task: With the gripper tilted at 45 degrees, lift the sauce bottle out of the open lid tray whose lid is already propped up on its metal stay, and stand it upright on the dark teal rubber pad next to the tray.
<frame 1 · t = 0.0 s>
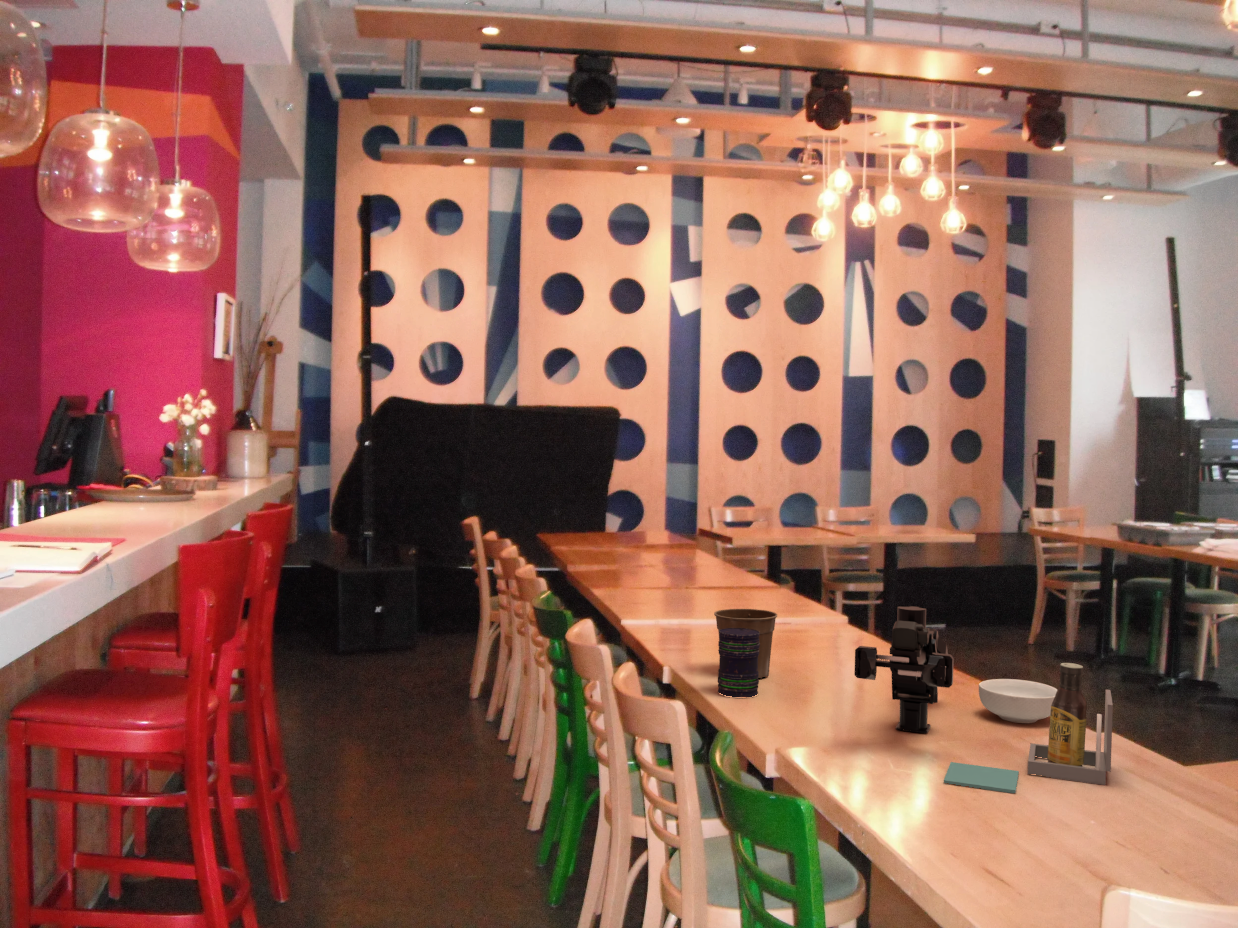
hand: (896, 674, 199), 17 cm above the table, tool horizontal, fingers open, 9 cm apart
rubber pad: (981, 778, 190), on the table
sauce bottle: (1066, 770, 196), resting in open lid tray
storage jar: (737, 694, 251), on the table
plant pot: (744, 675, 271), on the table
open lid tray: (1066, 769, 196), on the table
cereal bowl: (1017, 719, 233), on the table
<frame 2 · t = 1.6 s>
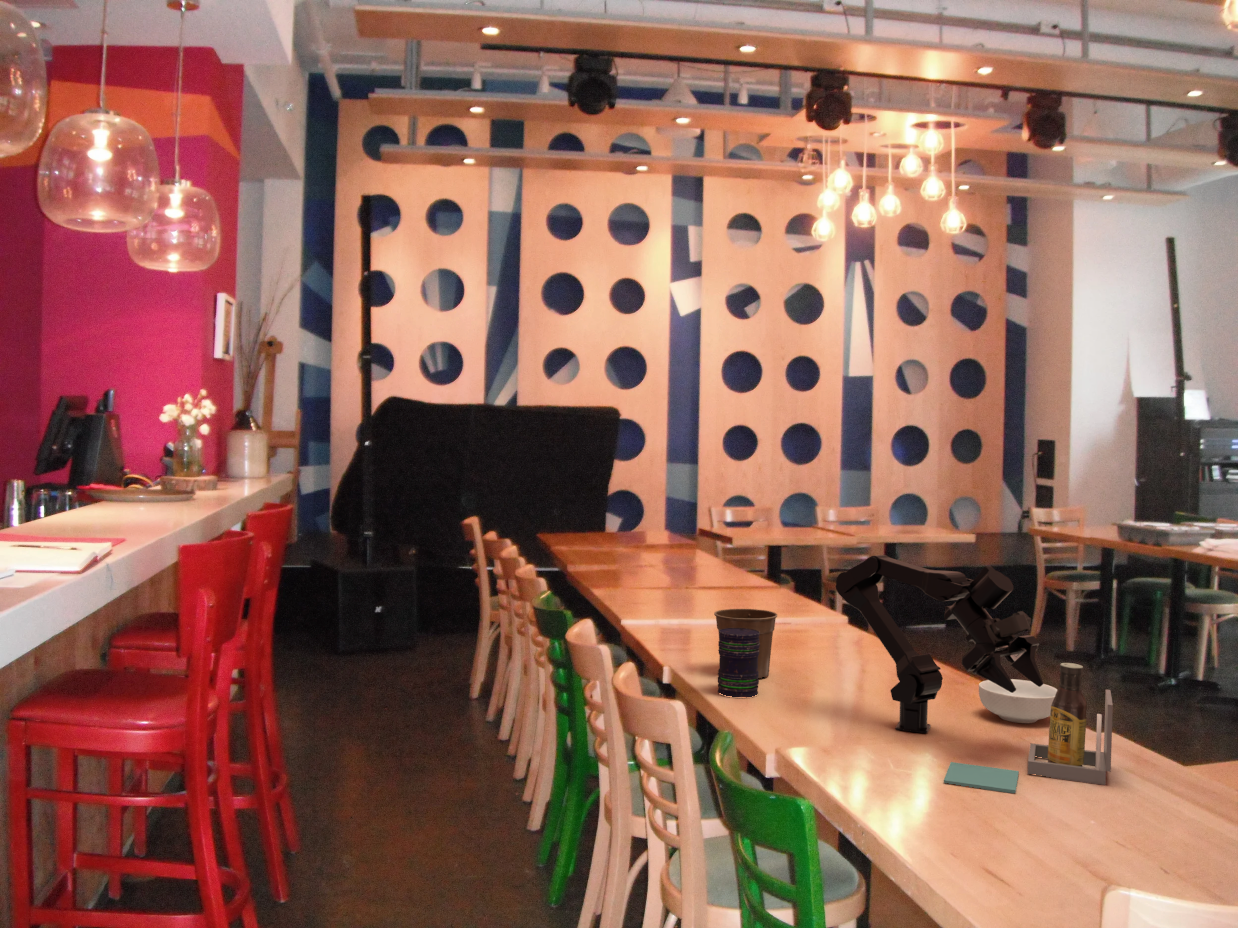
hand: (1028, 688, 201), 14 cm above the table, tool tilted 45°, fingers open, 9 cm apart
nothing on the table moved.
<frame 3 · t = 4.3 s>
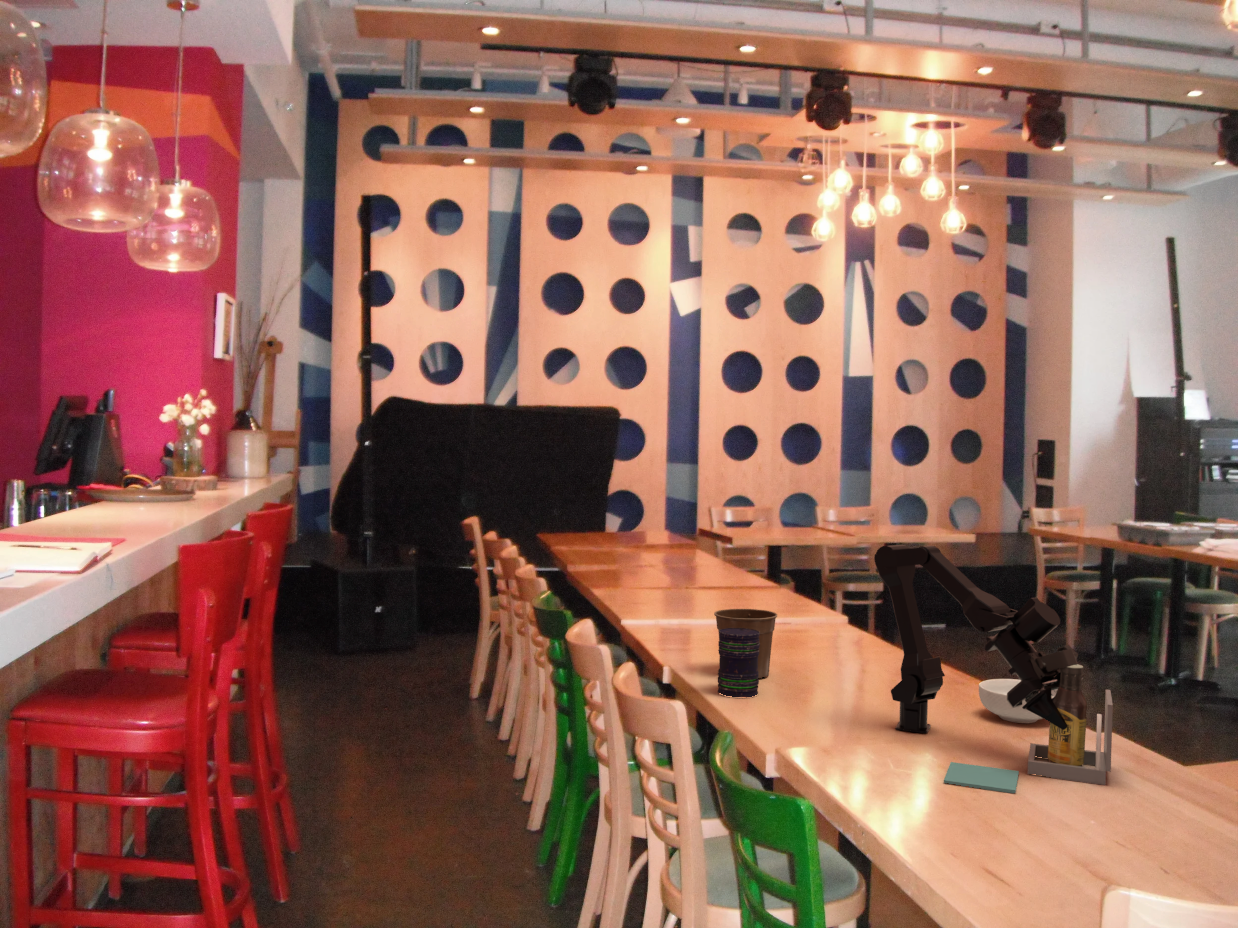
hand: (1074, 725, 195), 9 cm above the table, tool tilted 45°, fingers closed on sauce bottle, 6 cm apart
sauce bottle: (1066, 770, 196), resting in open lid tray, touching gripper
everything else where it was.
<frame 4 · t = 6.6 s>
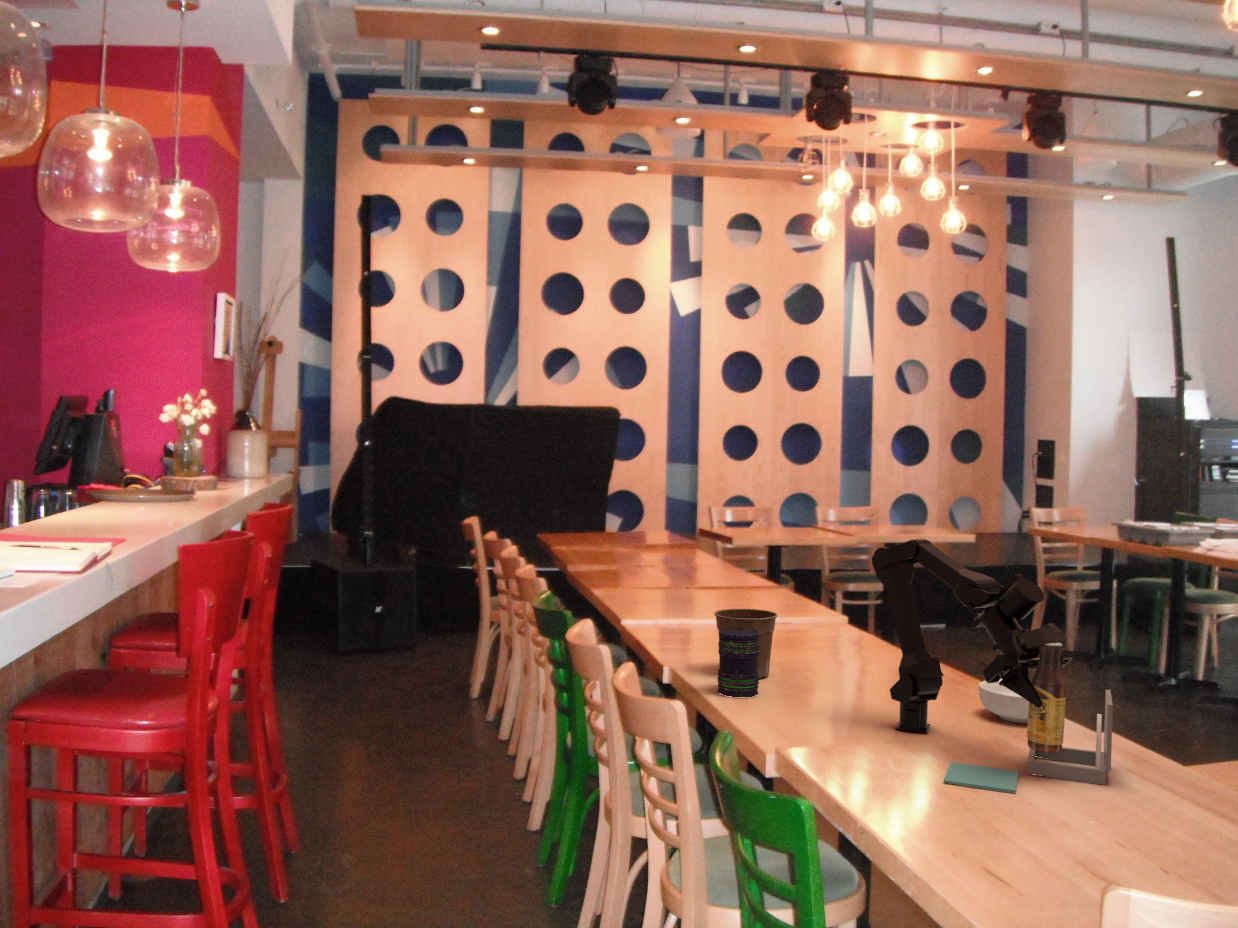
hand: (1052, 704, 191), 13 cm above the table, tool tilted 45°, fingers closed on sauce bottle, 6 cm apart
sauce bottle: (1045, 750, 193), point 4 cm above the table, touching gripper
everything else where it was.
when the fingers open (10 cm above the table, at t = 9.0 s): sauce bottle stays where it is, resting on rubber pad.
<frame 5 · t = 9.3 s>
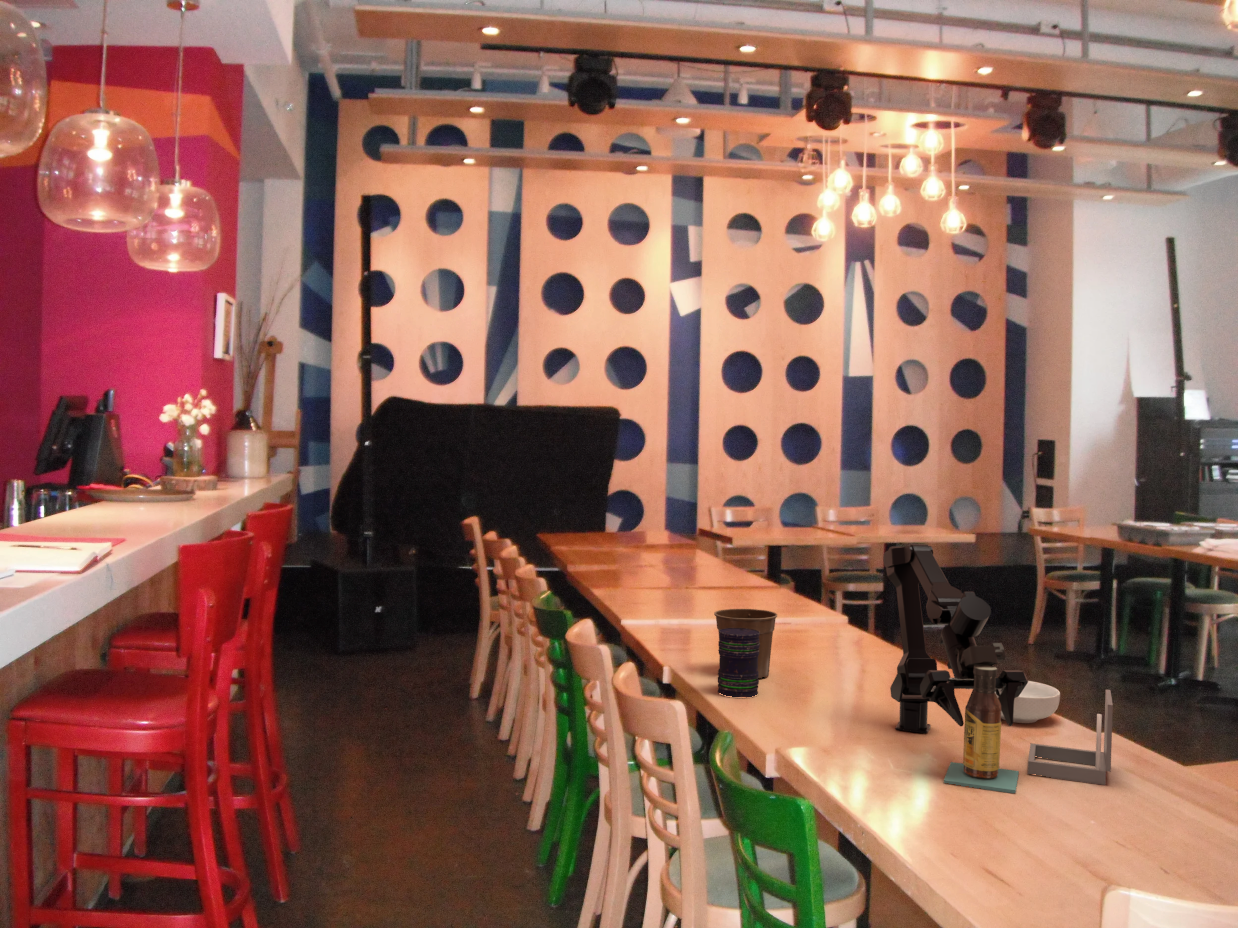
hand: (986, 724, 188), 10 cm above the table, tool tilted 45°, fingers open, 9 cm apart
sauce bottle: (980, 776, 190), resting on rubber pad
everything else where it was.
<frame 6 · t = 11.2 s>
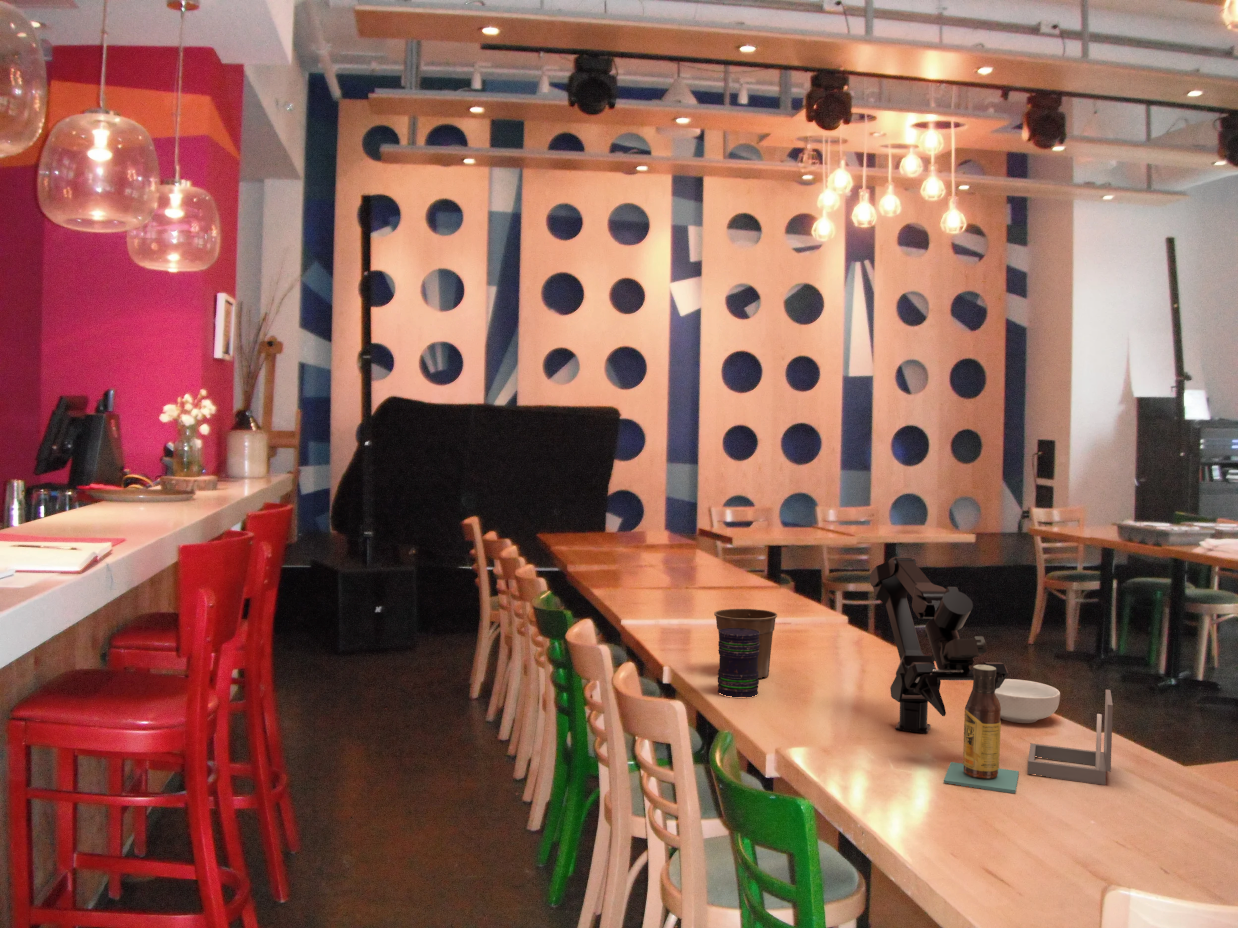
hand: (968, 714, 196), 10 cm above the table, tool tilted 45°, fingers open, 9 cm apart
nothing on the table moved.
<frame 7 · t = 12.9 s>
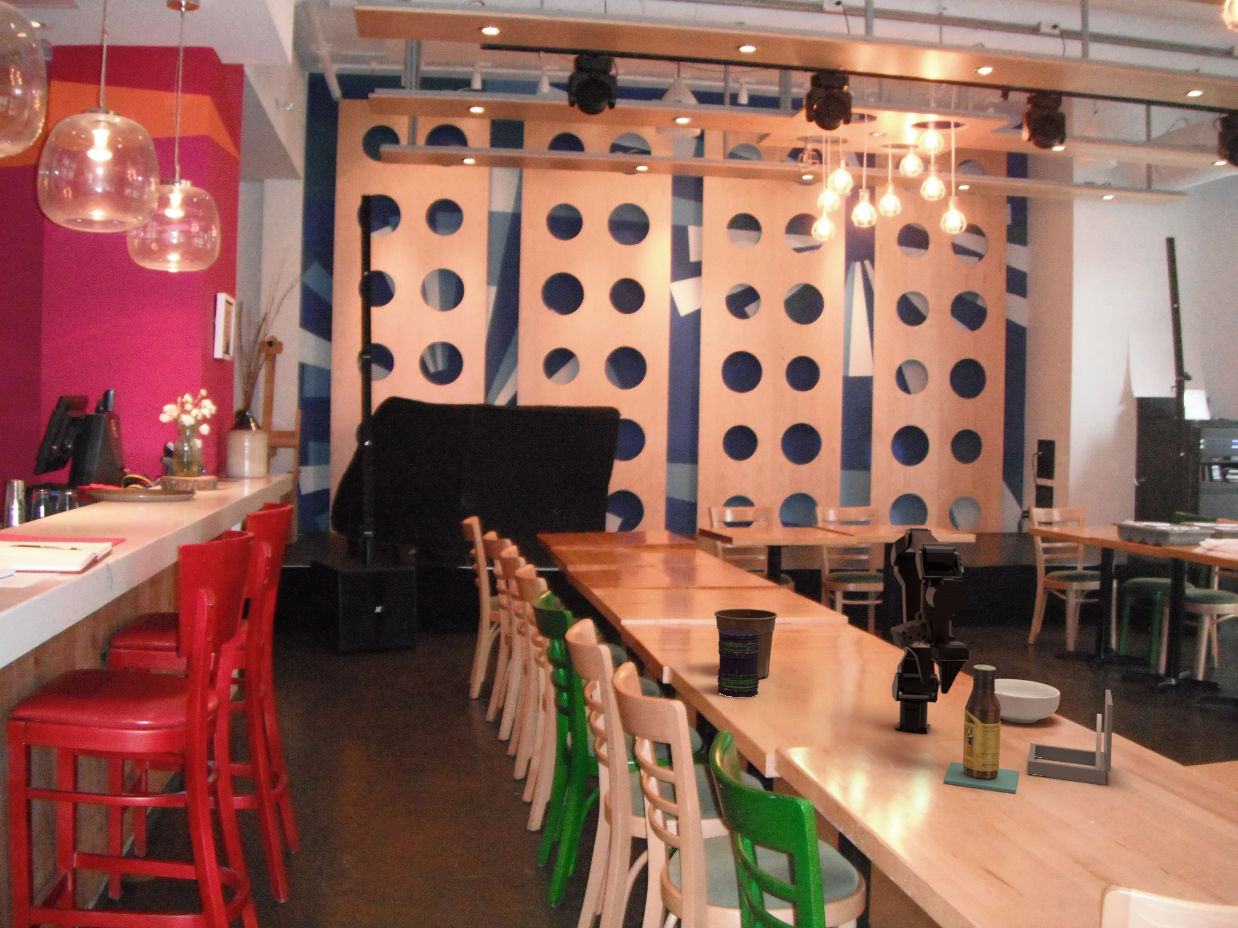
hand: (934, 688, 203), 13 cm above the table, tool pointing down, fingers open, 9 cm apart
nothing on the table moved.
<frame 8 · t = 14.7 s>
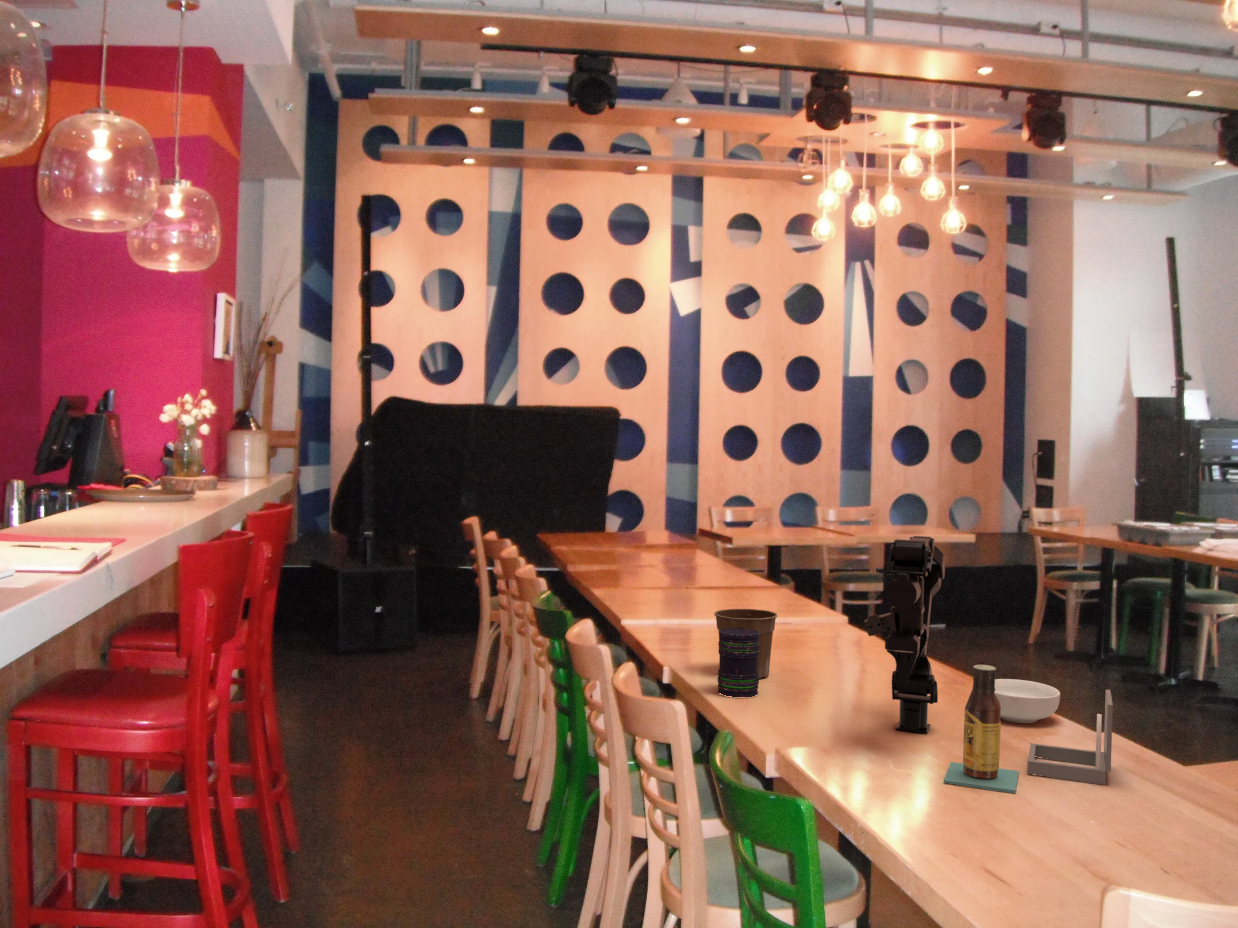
hand: (906, 679, 211), 13 cm above the table, tool pointing down, fingers open, 9 cm apart
nothing on the table moved.
at the end: sauce bottle inside the target area on the rubber pad (0.2 cm from its centre), point 0.4 cm above the rubber pad's base; sauce bottle tilted 0°; the gripper is holding nothing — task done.
